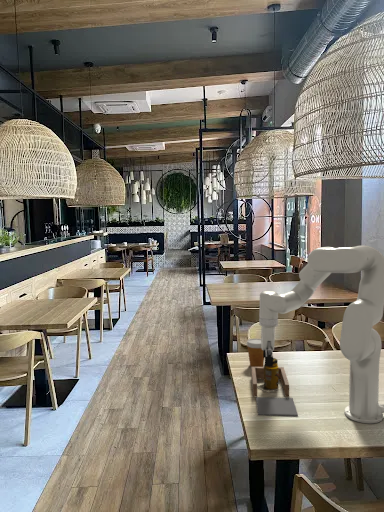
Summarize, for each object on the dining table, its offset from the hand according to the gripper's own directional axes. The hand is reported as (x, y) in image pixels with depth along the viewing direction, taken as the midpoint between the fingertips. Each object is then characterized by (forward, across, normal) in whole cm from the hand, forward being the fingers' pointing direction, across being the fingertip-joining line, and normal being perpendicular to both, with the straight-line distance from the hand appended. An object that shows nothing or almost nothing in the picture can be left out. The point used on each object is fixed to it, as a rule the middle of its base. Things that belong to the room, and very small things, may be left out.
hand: (267, 361), depth 172 cm
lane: (+11, +1, +1) cm, 11 cm away
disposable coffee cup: (+12, -25, -3) cm, 28 cm away
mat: (+11, +19, +2) cm, 21 cm away
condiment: (+11, +1, +1) cm, 11 cm away
